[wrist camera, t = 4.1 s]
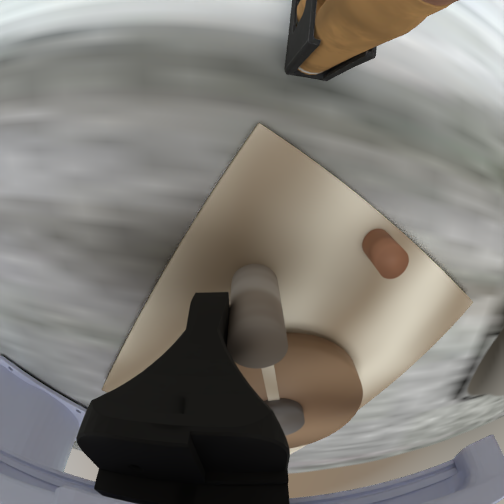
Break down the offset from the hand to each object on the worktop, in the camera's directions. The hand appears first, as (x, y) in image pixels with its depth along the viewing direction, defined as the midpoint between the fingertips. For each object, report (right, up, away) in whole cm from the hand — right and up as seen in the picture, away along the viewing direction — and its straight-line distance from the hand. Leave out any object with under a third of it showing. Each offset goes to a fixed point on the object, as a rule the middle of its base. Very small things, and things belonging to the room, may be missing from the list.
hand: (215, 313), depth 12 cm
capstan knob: (+2, -4, +4) cm, 7 cm away
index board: (+3, -4, +6) cm, 7 cm away
